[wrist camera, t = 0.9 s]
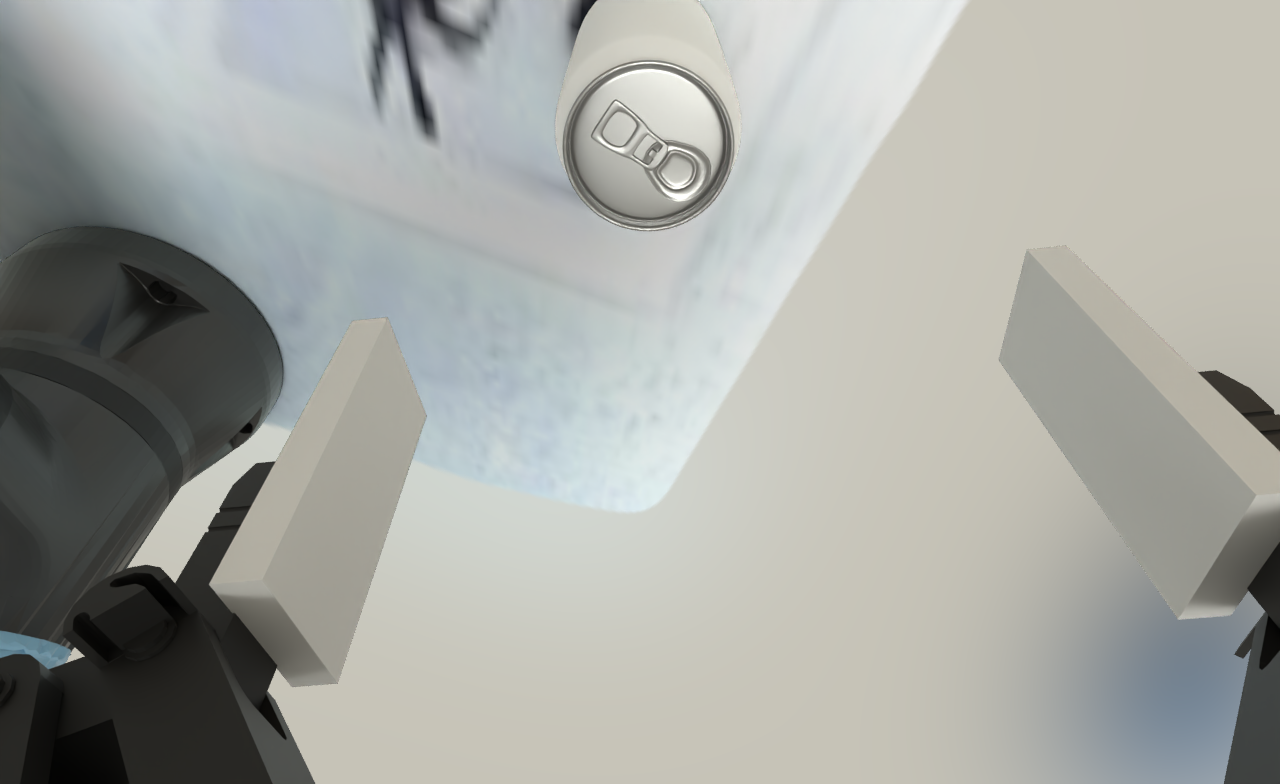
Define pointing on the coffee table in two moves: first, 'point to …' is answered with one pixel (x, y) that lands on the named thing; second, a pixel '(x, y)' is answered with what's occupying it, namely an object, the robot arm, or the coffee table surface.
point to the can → (647, 113)
